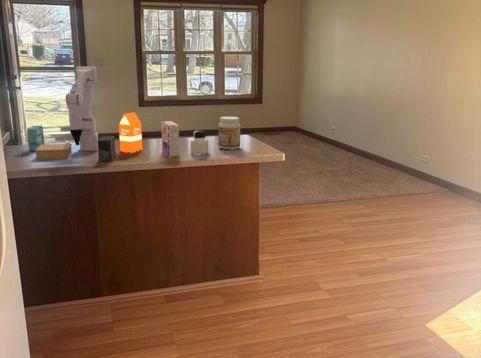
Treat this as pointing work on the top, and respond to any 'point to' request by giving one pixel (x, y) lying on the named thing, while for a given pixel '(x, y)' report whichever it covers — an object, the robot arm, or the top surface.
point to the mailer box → (53, 154)
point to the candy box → (170, 138)
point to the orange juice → (130, 133)
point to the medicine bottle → (199, 143)
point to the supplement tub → (229, 133)
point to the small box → (106, 149)
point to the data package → (35, 137)
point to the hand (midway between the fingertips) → (77, 144)
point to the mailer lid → (54, 147)
